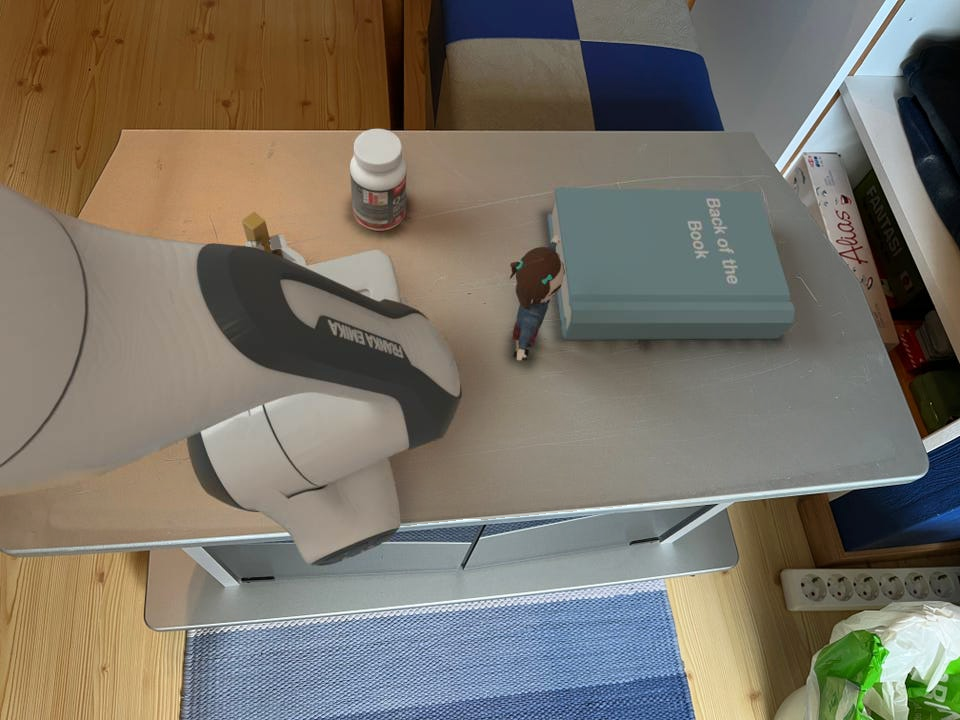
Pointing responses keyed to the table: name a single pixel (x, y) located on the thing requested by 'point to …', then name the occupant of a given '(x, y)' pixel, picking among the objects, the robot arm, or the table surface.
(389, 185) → the pill bottle
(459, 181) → the table surface
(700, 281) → the book
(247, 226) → the tan lever handle
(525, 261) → the toy
